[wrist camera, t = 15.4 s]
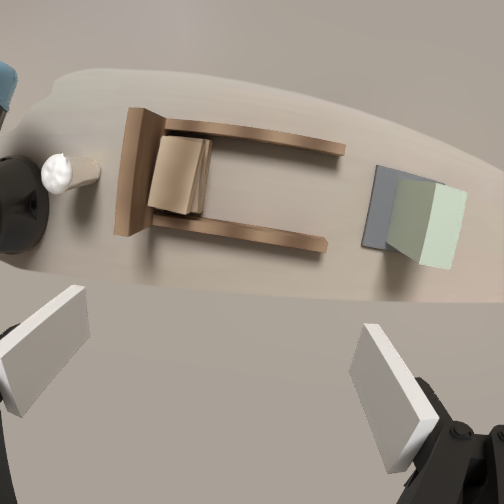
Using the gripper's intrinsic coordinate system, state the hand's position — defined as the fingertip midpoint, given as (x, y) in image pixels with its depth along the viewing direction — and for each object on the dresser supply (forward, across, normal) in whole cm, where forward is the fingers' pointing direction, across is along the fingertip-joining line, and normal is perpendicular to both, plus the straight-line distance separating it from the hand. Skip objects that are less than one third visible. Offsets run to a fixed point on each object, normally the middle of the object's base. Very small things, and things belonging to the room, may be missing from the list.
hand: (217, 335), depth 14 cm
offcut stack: (+26, -7, +6) cm, 28 cm away
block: (+25, +20, +5) cm, 32 cm away
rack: (+26, -1, +5) cm, 27 cm away
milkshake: (+27, -21, +5) cm, 34 cm away
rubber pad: (+25, +20, +5) cm, 32 cm away
